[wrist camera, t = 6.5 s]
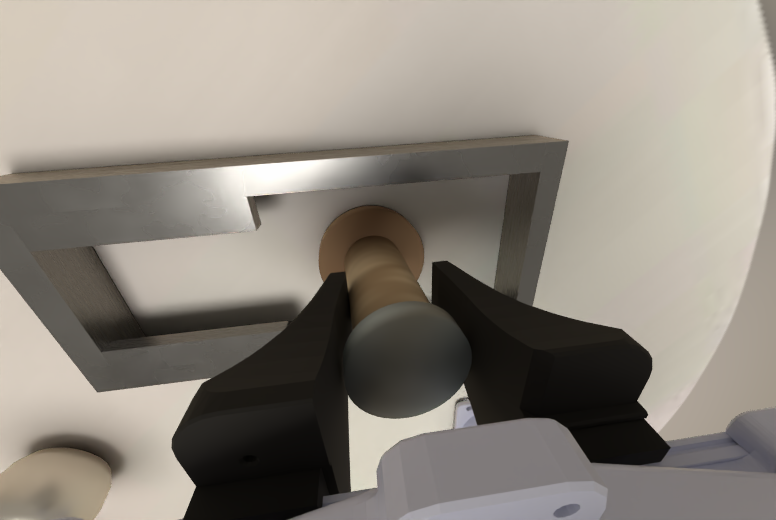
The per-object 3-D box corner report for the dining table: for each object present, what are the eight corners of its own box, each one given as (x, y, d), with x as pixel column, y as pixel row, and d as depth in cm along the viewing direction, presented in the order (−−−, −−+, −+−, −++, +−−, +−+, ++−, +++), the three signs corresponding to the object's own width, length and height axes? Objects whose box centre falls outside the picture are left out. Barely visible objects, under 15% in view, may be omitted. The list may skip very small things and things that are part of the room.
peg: (421, 203, 16) (515, 278, 8) (416, 293, 18) (486, 422, 10) (314, 207, 15) (299, 297, 7) (323, 302, 17) (320, 452, 9)
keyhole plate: (534, 135, 15) (568, 140, 12) (505, 311, 20) (525, 338, 18) (10, 173, 13) (-63, 188, 11) (129, 355, 18) (97, 392, 16)
